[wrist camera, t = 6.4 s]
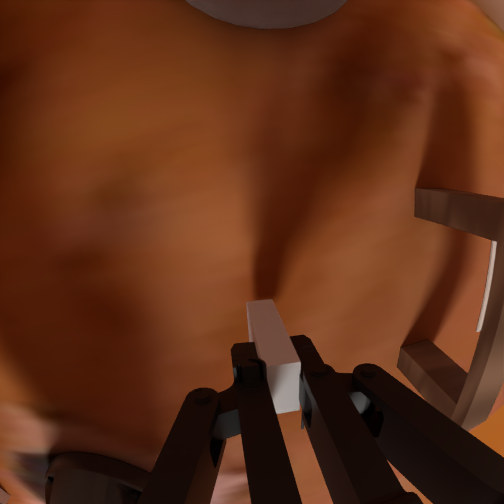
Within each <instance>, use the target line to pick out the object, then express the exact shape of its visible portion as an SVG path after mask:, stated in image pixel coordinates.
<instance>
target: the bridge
mask: <svg viewBox="0 0 504 504" xmlns="http://www.w3.org/2000/svg"><path fill="white" fill-rule="evenodd" d="M415 217H418V218H421V219H425V220H428V221H432V222H435V223H438V224H442V225H445V226H448V227H452V228H455V229H458V230H462V231H465V232H468V233H471V234H474V235H477V236H480V237H483V238H486V239H489V240H492V241H495V242H497V245H496V253H495V261H494V268H493V274H492V280H491V286H490V292H489V297H488V302H487V307H486V311H485V316H484V320H483V324H482V328H481V332H480V336H479V339H478V343H477V347H476V350H475V353H474V357H473V360H472V363H471V366H470V369H469V372H468V373H467V372H465V371H464V370H463V369H462V368H461V367H460V366H459V365H458V364H456V363H455V362H454V361H453V360H452V359H451V358H450V357H448V356H447V355H446V354H445V353H444V352H443V351H442V350H440V349H439V348H438V347H437V346H436V345H435V344H433V343H432V342H431V341H430V340H426V341H422V342H419V343H415V344H411V345H408V346H404V347H401V349H400V354H399V360H398V365H397V368H398V369H399V370H400V371H401V372H402V373H403V374H404V376H405V377H406V378H407V379H408V380H409V381H410V382H411V384H412V385H413V386H414V387H415V388H416V389H417V390H418V392H419V393H420V394H421V395H422V396H423V397H424V398H425V400H426V401H427V402H428V403H429V404H430V405H432V406H433V407H435V408H436V409H437V410H439V411H440V412H441V413H443V414H444V415H445V416H447V417H448V418H450V419H451V420H452V421H454V422H455V423H456V424H458V425H459V426H461V427H462V428H463V429H465V430H466V431H468V430H470V429H471V428H473V427H475V426H477V425H479V424H481V423H482V422H484V421H486V420H487V417H488V415H489V413H490V411H491V409H492V407H493V405H494V403H495V400H496V398H497V396H498V394H499V391H500V389H501V386H502V384H503V382H504V198H499V197H493V196H488V195H482V194H476V193H470V192H464V191H457V190H450V189H433V188H415Z"/></svg>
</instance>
